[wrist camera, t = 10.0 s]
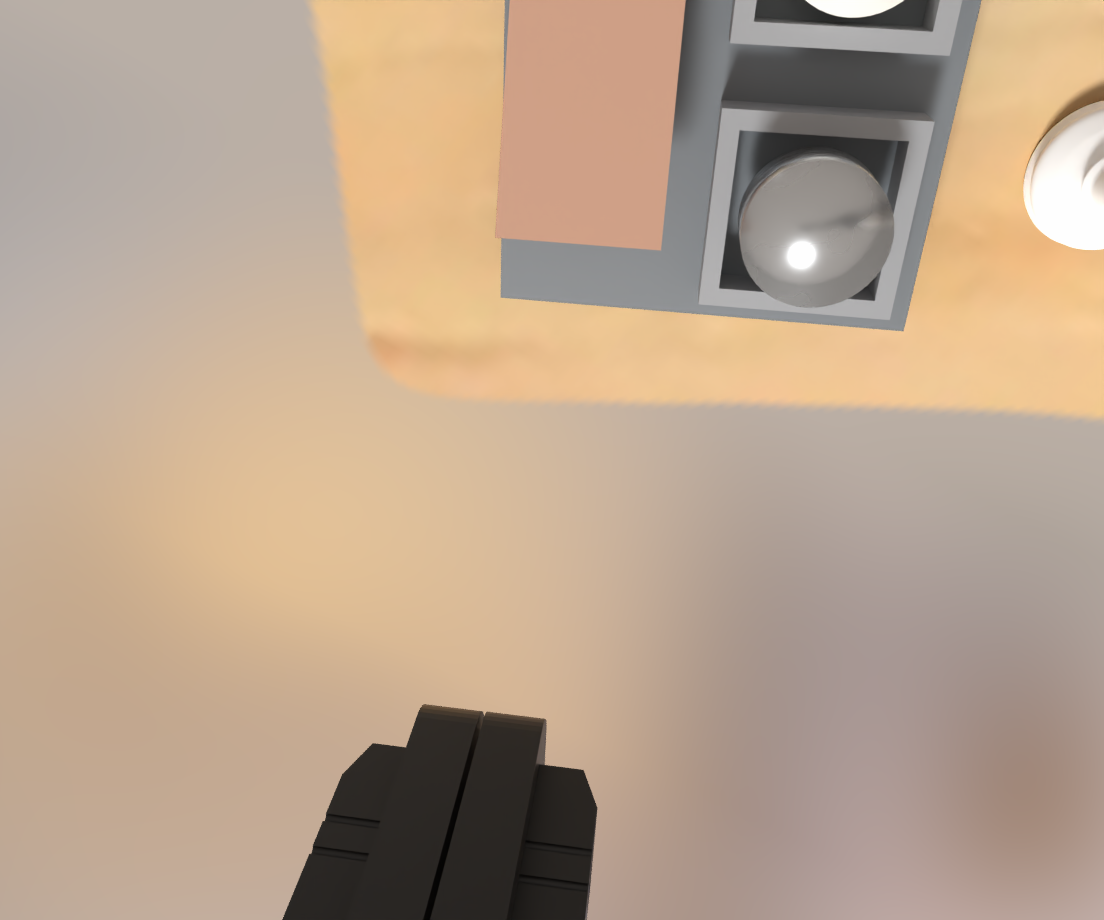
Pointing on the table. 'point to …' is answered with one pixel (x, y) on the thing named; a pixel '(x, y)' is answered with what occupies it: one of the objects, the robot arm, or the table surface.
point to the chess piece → (1069, 180)
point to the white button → (854, 7)
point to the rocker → (588, 120)
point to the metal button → (814, 227)
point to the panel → (777, 154)
